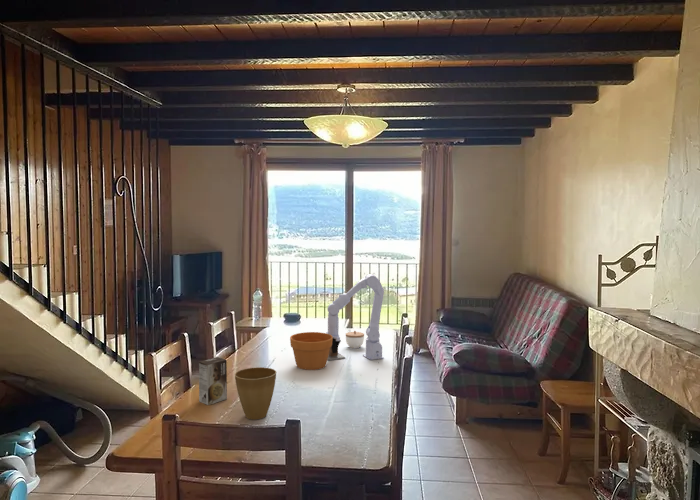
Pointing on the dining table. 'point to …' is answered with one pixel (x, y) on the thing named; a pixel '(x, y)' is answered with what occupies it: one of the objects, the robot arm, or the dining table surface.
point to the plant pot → (255, 390)
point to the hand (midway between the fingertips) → (332, 351)
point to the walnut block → (332, 352)
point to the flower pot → (311, 349)
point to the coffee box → (212, 380)
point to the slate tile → (335, 357)
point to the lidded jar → (354, 339)
